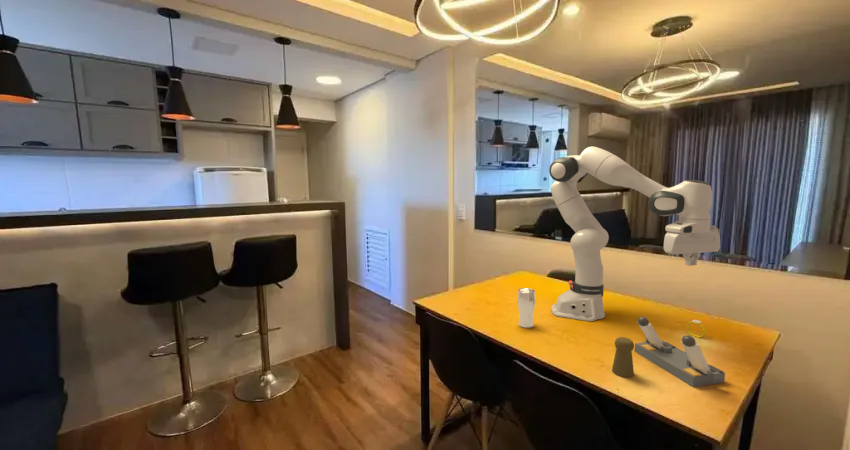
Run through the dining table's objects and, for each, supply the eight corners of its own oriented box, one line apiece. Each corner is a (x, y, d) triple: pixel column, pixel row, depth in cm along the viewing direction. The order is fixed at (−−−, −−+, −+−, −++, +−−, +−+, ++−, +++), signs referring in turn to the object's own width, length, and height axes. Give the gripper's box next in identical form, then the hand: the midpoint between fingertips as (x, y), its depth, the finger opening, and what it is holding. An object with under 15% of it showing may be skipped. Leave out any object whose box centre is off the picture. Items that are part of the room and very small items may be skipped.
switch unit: (661, 348, 126) (662, 335, 125) (732, 386, 102) (733, 371, 101) (634, 351, 124) (634, 338, 123) (699, 391, 100) (700, 376, 99)
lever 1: (654, 339, 123) (637, 311, 121) (668, 347, 117) (651, 318, 115) (647, 345, 123) (630, 317, 120) (661, 353, 117) (644, 324, 115)
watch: (705, 338, 133) (708, 324, 132) (701, 340, 132) (703, 325, 131) (688, 331, 138) (691, 317, 137) (684, 333, 137) (686, 318, 136)
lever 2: (697, 362, 108) (681, 329, 105) (716, 372, 102) (700, 338, 99) (689, 368, 107) (673, 335, 105) (708, 379, 101) (691, 344, 99)
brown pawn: (607, 368, 113) (609, 335, 112) (625, 366, 114) (627, 334, 112) (619, 378, 107) (621, 344, 106) (638, 377, 108) (640, 342, 106)
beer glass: (535, 323, 149) (536, 288, 148) (533, 329, 143) (534, 293, 141) (519, 320, 152) (519, 287, 151) (516, 327, 146) (516, 291, 144)
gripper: (709, 224, 129) (706, 261, 130) (661, 226, 125) (658, 264, 127) (727, 226, 123) (724, 265, 124) (677, 228, 119) (674, 269, 121)
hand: (690, 265), depth 125 cm, fingers closed
